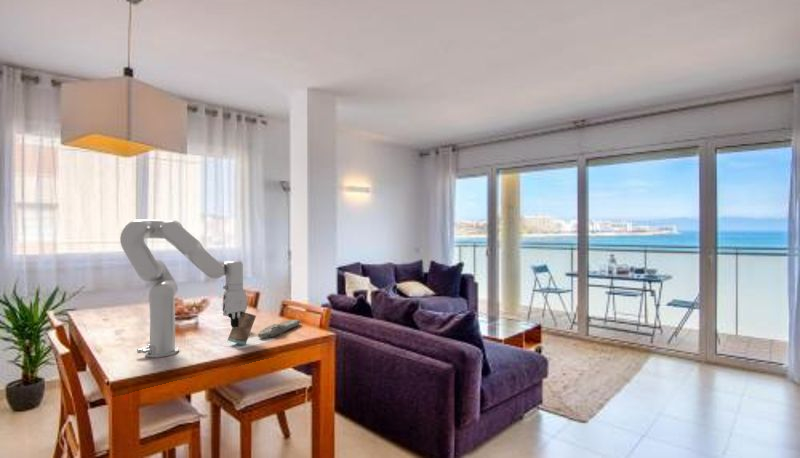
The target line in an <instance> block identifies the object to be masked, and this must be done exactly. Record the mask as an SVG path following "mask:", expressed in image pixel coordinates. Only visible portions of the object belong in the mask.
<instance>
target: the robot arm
mask: <svg viewBox="0 0 800 458" xmlns="http://www.w3.org/2000/svg"><path fill="white" fill-rule="evenodd" d="M145 239H162V240H163V239H165V241H166V242H168V243H170V245H171V246H173V247H174V248H176V250H178V251H179V252H180V253H181V254H182V255H184V257H185V258H186V259H188V260H189V261H190V262H191V263H192V264H193V265H194V266H195V267H196V268H198V269H199V270H200V271H201V272H202V273H203V274H204V275H206V276H207V277H208V278H210V279H213V280H218V279H220V278H222V277H224V276H225V284H224V286H222V289H223V290H224V292H223V296H222V306H221V307H222V316H224V317H228V318H229V319H230V325H231V328H232V327H238V324H239V317H240V315H241V314H242V313H243V312H246V313H247V311H246V310H247V309H248V302H247V301H248V300H247V293H246V290H245V288H244V273H243V272H244V268H243V267H244V264H243V261H242V260H217V259H216V258H215V257H213V256H212V255H211V254H210V253H209V252H208V250H206V249H205V247H204V246H203V245H202V243H201V242H200V241H199V239H197V238H196V237H195V236H193V235H192V234H191V233H190V232H189V231H187V230H186V228H184V227H183V225H182V223H181V222H179V221H178V220H173V219H169V220H168V219H167V220H164V219H163V220H160V219H140V218H139V219H134V220H131V221H129V222H128V223H127V224H125V226H124V227H123V229H122V230H121V232H120V239H119V240H120V241H119V242H120V246H121V248H122V250H123V252H124V254H125V255H126V257H127V259H128V260H129V262H130V264H131V266H132V267H133V268H134V271H135V272H136V274H137V276H138V277H139V278H140V279H141V280H142V281H143V282H146V283H148V284H149V285H150V287H151V288H150V290H149V292H148V304H149V307H148V308H149V343H147V346H145V347H141V348H137V349H136V353H137V354H145V356H146V357H147V358H153V357H156V358H163V357H164V356H165V357H169V356H173V355H176V354H178V353H179V350H180V348H179V347H178V346H176V345H175V344H176V343H175V342H176V309H175V306H176V305H175V296H176V295H177V293H178V284H177V282H176V281H175V279H174V277H173V276H172V274H171V272H170V271H169V269H168V267H167V266H166V264H165V263H164V262H163V261H162V260H161V259H158V258H155V256H154V255H153V253H152V252H151V249H150V248H149V247H148V245H147V244H146V242H145ZM234 313H235V314H234Z"/></svg>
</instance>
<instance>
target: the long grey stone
mask: <svg viewBox="0 0 800 458" xmlns="http://www.w3.org/2000/svg"><path fill="white" fill-rule="evenodd" d="M300 324H301V320H300V319H290V320H289V319H287V320H286V321H283V322H280V323H274V324H272V325H268V326H267V327H264V328H263V329H261V330H260V331H259V332H257V336H258V337H259V338H268V337H271V338H274V337H276V336H280V335H282V334H283V333H285V332H287V331H288V330H291V329H293V328H296V327H298V326H299V325H300Z"/></svg>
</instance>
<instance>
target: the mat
mask: <svg viewBox="0 0 800 458" xmlns="http://www.w3.org/2000/svg"><path fill="white" fill-rule="evenodd" d="M276 340H277V338H274V337H268V338H259V337H258V335H257V336H253V337H248V339H247V342H246V345H243V344H238V343H234V342H231V341H230V342H227V343H223V344H221V346H223V347H226V348H228V349H231V350H234V351H236V350H240V349H245V348H249V347H252V346H256V345H259V344H264V343H267V342H271V341H272V342H273V341H276Z"/></svg>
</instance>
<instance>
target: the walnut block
mask: <svg viewBox="0 0 800 458" xmlns="http://www.w3.org/2000/svg"><path fill="white" fill-rule="evenodd" d="M256 317H257V315H256V314H255V315H254V314H251V313H248V312H246V313H245V312H243V313H242V314H241V315H240V317H239V324H238V327H232V326H231V331H230V333H229V335H228V338H227V341H228V342H230V343H231V342H234V343H238V344H243V345H246V342H247V339H248V338H250V333H251V332H252V331H251V330H252V328H253V326H254V323H255V320H256Z"/></svg>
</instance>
